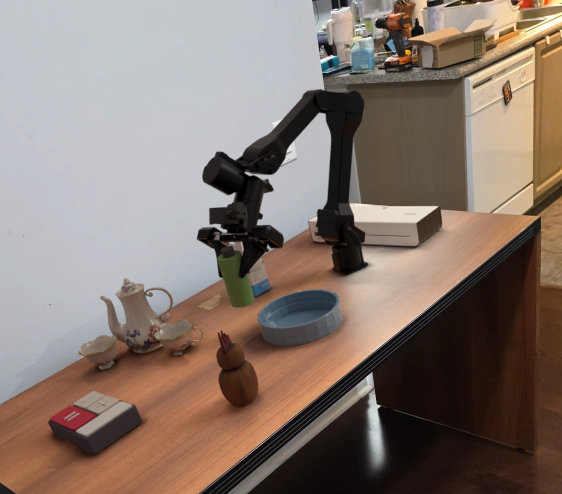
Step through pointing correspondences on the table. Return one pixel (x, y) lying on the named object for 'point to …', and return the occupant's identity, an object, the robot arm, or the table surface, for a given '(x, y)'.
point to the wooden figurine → (235, 373)
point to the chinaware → (138, 328)
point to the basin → (300, 317)
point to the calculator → (95, 421)
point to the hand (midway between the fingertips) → (230, 277)
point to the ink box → (255, 273)
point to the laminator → (391, 224)
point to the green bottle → (235, 278)
